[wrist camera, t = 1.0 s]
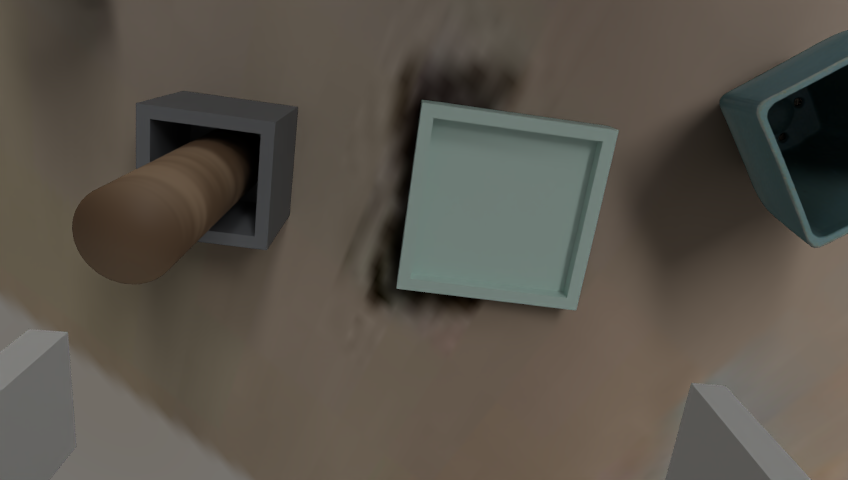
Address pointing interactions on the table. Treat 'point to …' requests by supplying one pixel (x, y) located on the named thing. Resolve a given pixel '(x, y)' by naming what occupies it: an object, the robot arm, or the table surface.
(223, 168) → the dowel
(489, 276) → the tray
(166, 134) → the pen cup
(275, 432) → the table surface
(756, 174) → the flower pot
